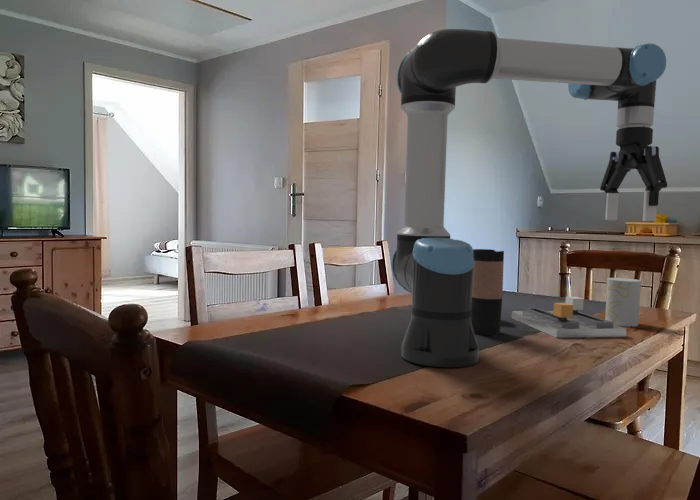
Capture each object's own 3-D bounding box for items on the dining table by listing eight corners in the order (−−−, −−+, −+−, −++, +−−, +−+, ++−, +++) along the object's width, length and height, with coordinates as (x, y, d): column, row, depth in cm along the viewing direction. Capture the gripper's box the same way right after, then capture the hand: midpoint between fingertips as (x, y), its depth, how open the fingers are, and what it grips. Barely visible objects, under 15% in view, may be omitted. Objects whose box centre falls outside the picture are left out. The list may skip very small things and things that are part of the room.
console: (556, 337, 132) (557, 324, 132) (511, 318, 156) (512, 306, 156) (625, 336, 135) (626, 323, 135) (571, 317, 159) (571, 306, 159)
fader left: (560, 324, 136) (561, 305, 136) (552, 321, 140) (553, 302, 139) (571, 324, 137) (573, 305, 136) (564, 321, 140) (565, 302, 140)
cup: (598, 321, 155) (600, 277, 154) (622, 320, 158) (624, 277, 157) (620, 327, 147) (623, 281, 147) (645, 325, 150) (648, 281, 149)
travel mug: (468, 334, 134) (471, 250, 133) (469, 327, 141) (472, 248, 140) (501, 336, 132) (504, 251, 131) (500, 330, 140) (503, 249, 138)
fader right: (572, 316, 148) (573, 298, 147) (564, 314, 151) (565, 296, 151) (582, 316, 148) (583, 298, 148) (575, 314, 152) (576, 296, 151)
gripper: (690, 120, 117) (683, 222, 118) (615, 135, 142) (610, 219, 143) (658, 118, 116) (651, 221, 117) (588, 134, 140) (583, 219, 142)
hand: (629, 220), depth 130 cm, fingers open, 13 cm apart
